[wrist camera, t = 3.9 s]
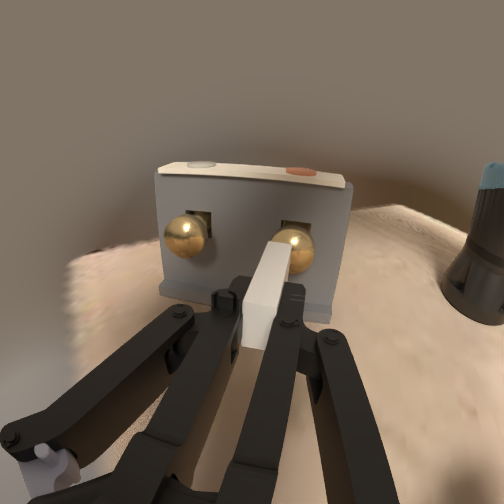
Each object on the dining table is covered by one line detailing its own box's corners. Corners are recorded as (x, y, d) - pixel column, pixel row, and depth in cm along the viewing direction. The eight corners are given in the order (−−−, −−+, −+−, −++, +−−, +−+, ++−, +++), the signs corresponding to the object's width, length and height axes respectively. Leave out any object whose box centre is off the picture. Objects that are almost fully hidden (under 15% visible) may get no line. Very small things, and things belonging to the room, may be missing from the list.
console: (178, 272, 42) (170, 158, 34) (329, 295, 38) (350, 172, 30) (160, 295, 36) (145, 167, 29) (329, 324, 33) (357, 182, 25)
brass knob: (278, 235, 36) (281, 202, 34) (313, 240, 35) (317, 206, 33) (266, 270, 28) (269, 228, 26) (310, 276, 27) (316, 234, 25)
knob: (196, 226, 38) (195, 194, 36) (227, 229, 37) (228, 196, 35) (165, 255, 30) (162, 217, 28) (203, 261, 29) (201, 221, 27)
